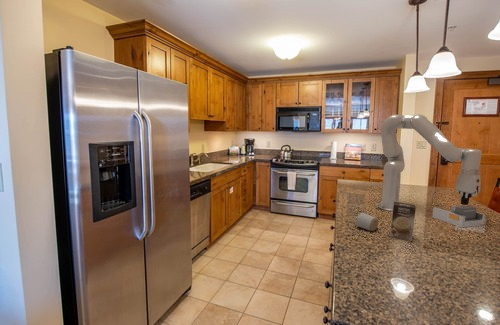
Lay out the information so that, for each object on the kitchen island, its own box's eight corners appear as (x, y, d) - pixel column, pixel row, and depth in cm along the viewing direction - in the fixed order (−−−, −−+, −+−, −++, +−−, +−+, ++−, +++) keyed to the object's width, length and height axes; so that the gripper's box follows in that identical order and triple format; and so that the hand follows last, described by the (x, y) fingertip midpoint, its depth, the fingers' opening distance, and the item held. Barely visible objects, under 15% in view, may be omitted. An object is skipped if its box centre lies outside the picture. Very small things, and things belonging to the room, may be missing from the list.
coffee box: (389, 237, 123) (392, 204, 121) (390, 232, 129) (393, 201, 127) (412, 241, 119) (415, 207, 116) (412, 236, 124) (415, 204, 122)
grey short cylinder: (370, 233, 127) (371, 218, 127) (355, 227, 134) (356, 213, 133) (381, 229, 134) (382, 214, 133) (366, 224, 140) (367, 210, 139)
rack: (461, 227, 137) (462, 216, 136) (432, 217, 152) (433, 207, 152) (483, 224, 141) (485, 214, 140) (452, 215, 157) (453, 205, 156)
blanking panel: (461, 223, 140) (463, 208, 139) (453, 220, 144) (455, 206, 143) (474, 221, 143) (476, 207, 142) (466, 219, 146) (468, 205, 145)
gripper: (490, 174, 134) (484, 208, 137) (460, 169, 148) (455, 200, 151) (479, 174, 132) (474, 209, 135) (450, 169, 146) (445, 200, 149)
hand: (464, 204), depth 143 cm, fingers closed
